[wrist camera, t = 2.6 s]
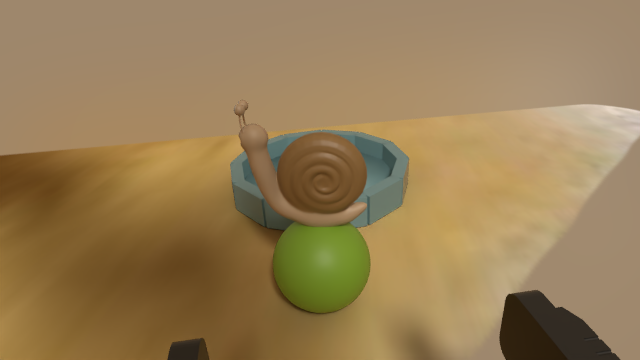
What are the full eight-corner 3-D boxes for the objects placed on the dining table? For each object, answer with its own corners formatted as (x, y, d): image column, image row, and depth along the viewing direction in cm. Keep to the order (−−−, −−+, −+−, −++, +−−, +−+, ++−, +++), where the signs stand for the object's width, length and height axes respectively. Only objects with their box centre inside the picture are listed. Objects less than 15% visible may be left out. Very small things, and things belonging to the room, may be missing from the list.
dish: (201, 219, 34) (196, 192, 33) (274, 147, 47) (272, 126, 46) (391, 244, 30) (392, 214, 29) (414, 158, 43) (415, 135, 42)
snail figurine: (269, 269, 28) (247, 87, 23) (368, 270, 27) (369, 83, 22) (251, 333, 23) (217, 120, 18) (371, 336, 23) (373, 117, 17)
